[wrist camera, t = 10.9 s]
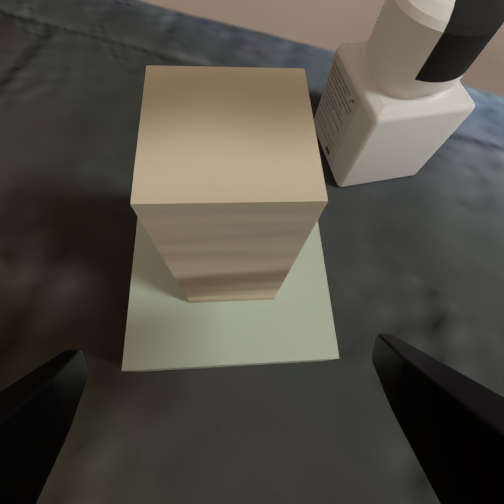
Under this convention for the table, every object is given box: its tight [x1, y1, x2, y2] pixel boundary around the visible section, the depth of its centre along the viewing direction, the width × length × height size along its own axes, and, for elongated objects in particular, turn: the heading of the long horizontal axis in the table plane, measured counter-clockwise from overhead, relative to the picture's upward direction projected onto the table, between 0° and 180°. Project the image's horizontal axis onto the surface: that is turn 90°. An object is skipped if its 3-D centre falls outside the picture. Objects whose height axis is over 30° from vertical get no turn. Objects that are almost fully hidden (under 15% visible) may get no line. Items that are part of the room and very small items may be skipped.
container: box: [314, 0, 504, 187], centre depth 22 cm, size 8×8×13 cm
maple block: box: [130, 66, 328, 303], centre depth 13 cm, size 5×5×11 cm
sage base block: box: [122, 218, 339, 371], centre depth 20 cm, size 12×12×4 cm
